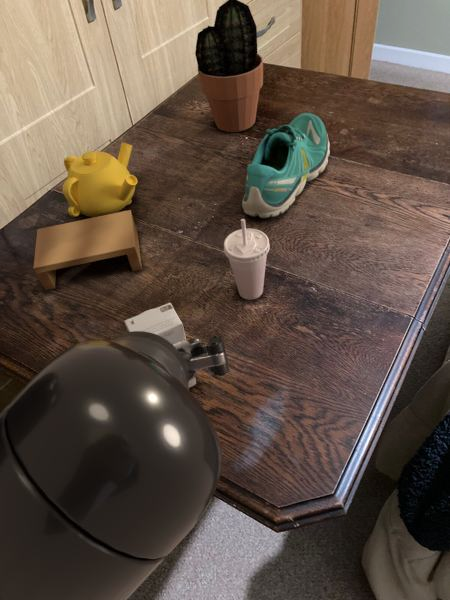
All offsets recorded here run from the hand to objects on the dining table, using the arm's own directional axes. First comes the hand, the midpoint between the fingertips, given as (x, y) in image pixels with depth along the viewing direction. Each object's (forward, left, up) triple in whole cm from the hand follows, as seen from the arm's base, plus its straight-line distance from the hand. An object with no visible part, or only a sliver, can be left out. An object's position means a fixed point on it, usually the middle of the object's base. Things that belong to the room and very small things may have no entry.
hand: (151, 358), depth 49 cm
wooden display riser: (-10, +36, -16) cm, 40 cm away
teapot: (-6, +51, -16) cm, 54 cm away
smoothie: (+14, +21, -16) cm, 30 cm away
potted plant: (+23, +73, -16) cm, 78 cm away
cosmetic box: (0, +8, -16) cm, 18 cm away
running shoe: (+28, +47, -16) cm, 57 cm away
